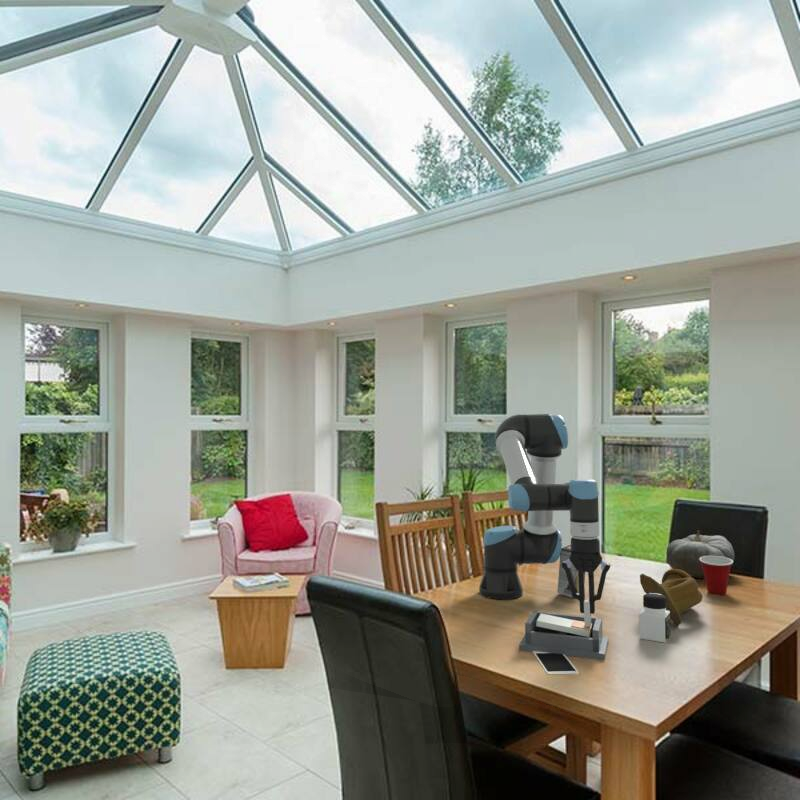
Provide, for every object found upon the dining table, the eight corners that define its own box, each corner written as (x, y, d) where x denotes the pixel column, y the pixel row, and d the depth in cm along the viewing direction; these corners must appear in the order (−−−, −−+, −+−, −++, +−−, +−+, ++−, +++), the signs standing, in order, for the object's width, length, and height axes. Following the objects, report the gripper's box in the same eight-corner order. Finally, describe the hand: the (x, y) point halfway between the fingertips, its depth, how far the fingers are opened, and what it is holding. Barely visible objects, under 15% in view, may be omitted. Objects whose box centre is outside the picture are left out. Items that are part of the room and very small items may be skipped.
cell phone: (561, 652, 178) (561, 649, 178) (579, 675, 162) (579, 673, 162) (532, 653, 178) (532, 650, 178) (547, 676, 162) (547, 673, 162)
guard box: (519, 649, 179) (518, 623, 179) (528, 633, 192) (528, 609, 192) (604, 660, 171) (604, 632, 171) (608, 642, 184) (608, 617, 184)
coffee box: (567, 588, 240) (570, 543, 240) (584, 592, 236) (588, 547, 236) (556, 593, 233) (560, 548, 232) (573, 598, 229) (577, 552, 228)
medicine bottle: (666, 643, 183) (665, 599, 184) (639, 638, 187) (638, 595, 187) (670, 635, 189) (670, 593, 190) (644, 631, 193) (644, 590, 193)
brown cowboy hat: (603, 583, 212) (655, 558, 227) (622, 635, 209) (674, 606, 224) (661, 575, 193) (714, 548, 208) (683, 631, 190) (736, 600, 205)
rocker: (536, 626, 181) (536, 619, 181) (540, 618, 187) (541, 612, 187) (589, 637, 176) (590, 630, 176) (591, 629, 182) (592, 622, 182)
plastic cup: (700, 595, 231) (699, 560, 231) (699, 588, 241) (698, 554, 241) (735, 598, 227) (734, 563, 227) (732, 590, 237) (732, 556, 237)
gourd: (748, 567, 261) (739, 524, 261) (724, 589, 244) (714, 543, 244) (685, 564, 280) (677, 523, 279) (659, 584, 263) (650, 541, 262)
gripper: (558, 538, 179) (561, 627, 178) (609, 540, 174) (612, 631, 174) (562, 533, 186) (564, 619, 185) (611, 535, 181) (614, 623, 181)
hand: (587, 625), depth 179 cm, fingers closed
